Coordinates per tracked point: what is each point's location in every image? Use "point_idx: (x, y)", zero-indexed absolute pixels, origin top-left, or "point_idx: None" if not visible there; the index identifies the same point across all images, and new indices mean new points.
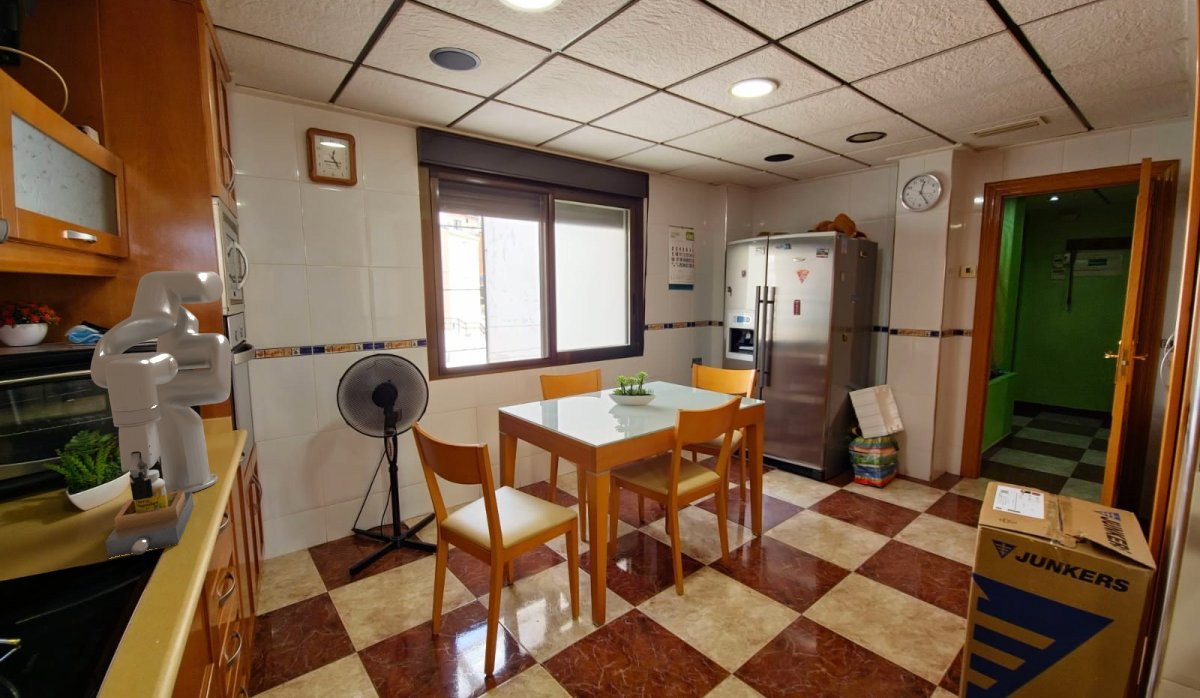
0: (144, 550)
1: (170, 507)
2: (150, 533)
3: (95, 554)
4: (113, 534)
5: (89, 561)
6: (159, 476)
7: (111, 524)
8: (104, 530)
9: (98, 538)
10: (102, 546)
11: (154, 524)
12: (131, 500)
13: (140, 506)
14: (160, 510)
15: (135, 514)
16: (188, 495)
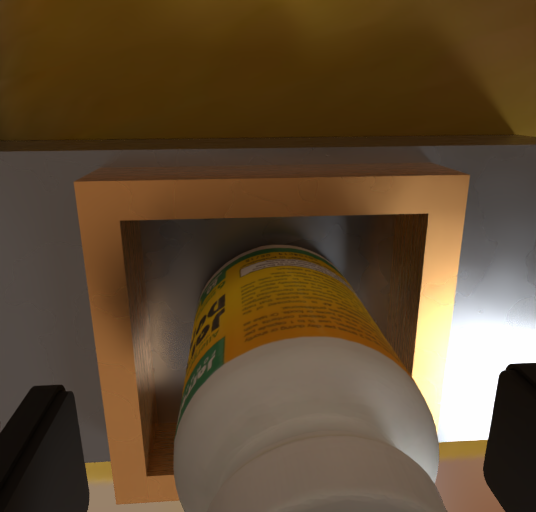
0: None
1: (125, 479)
2: None
3: (96, 51)
4: (29, 169)
5: (12, 44)
6: (511, 501)
7: (509, 25)
8: (436, 8)
9: (328, 5)
10: (192, 60)
11: (84, 361)
12: (443, 205)
13: (199, 323)
14: (108, 432)
15: (101, 304)
16: (470, 434)
